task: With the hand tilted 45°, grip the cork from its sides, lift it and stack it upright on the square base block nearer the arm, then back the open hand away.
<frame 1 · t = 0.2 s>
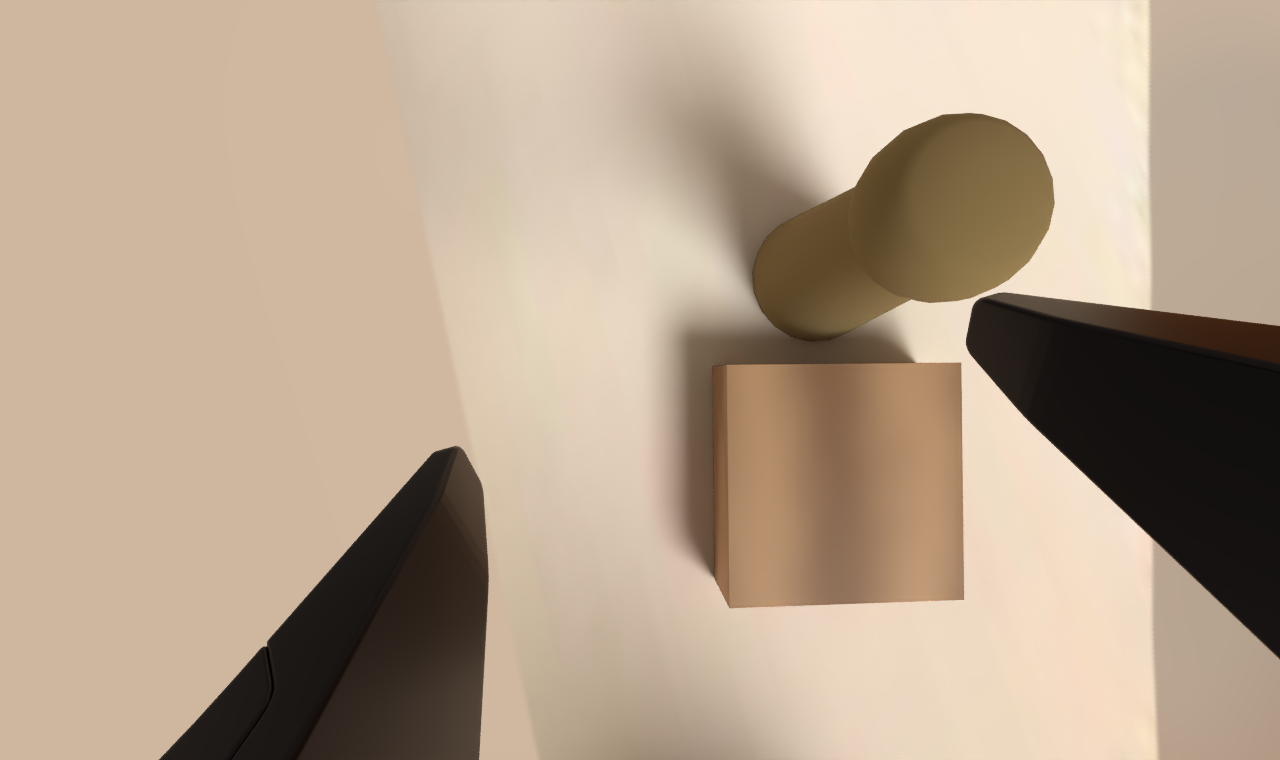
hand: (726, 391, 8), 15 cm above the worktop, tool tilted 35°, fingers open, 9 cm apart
cork: (813, 278, 24), on the worktop
base block: (817, 470, 24), on the worktop
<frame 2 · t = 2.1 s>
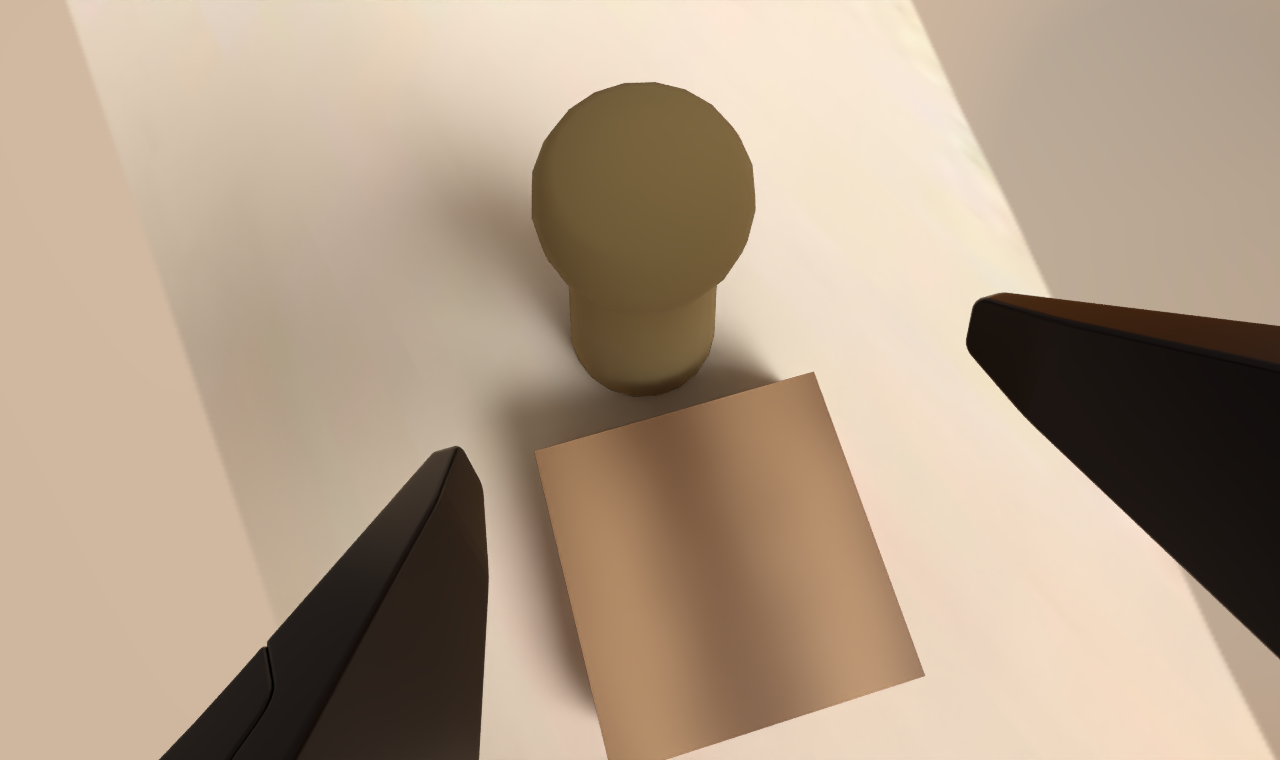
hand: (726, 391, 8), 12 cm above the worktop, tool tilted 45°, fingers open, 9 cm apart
cork: (642, 327, 21), on the worktop
base block: (708, 546, 19), on the worktop
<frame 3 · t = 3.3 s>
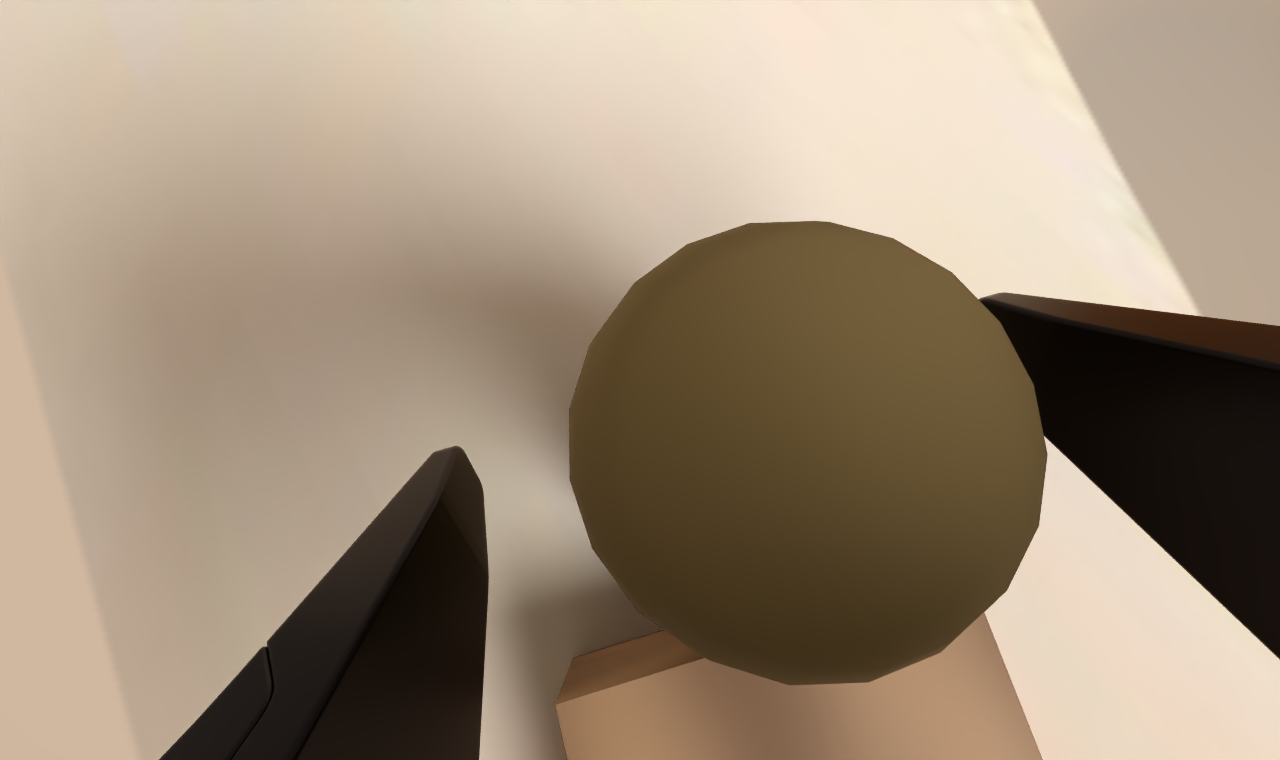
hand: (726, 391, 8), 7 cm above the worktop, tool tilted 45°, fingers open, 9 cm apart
cork: (697, 464, 15), on the worktop
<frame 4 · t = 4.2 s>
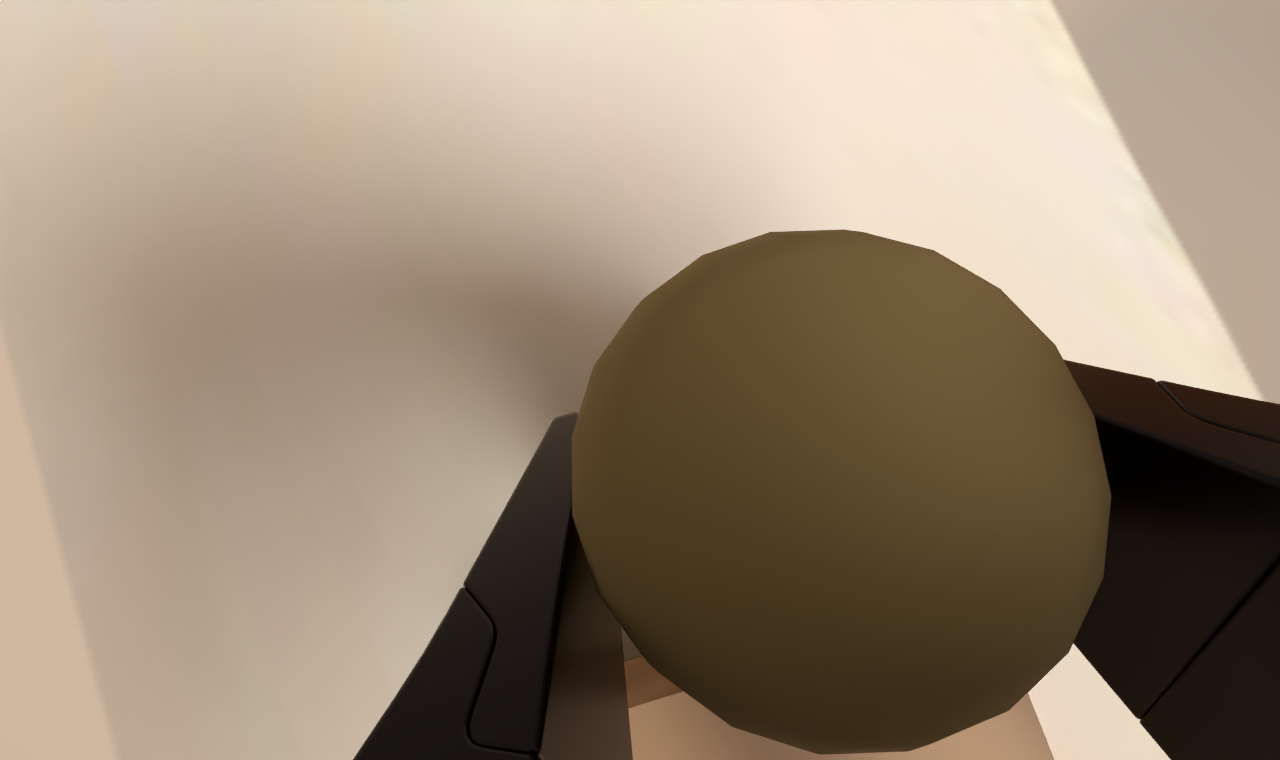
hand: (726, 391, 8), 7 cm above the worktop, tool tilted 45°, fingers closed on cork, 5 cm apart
cork: (702, 475, 15), on the worktop, touching gripper
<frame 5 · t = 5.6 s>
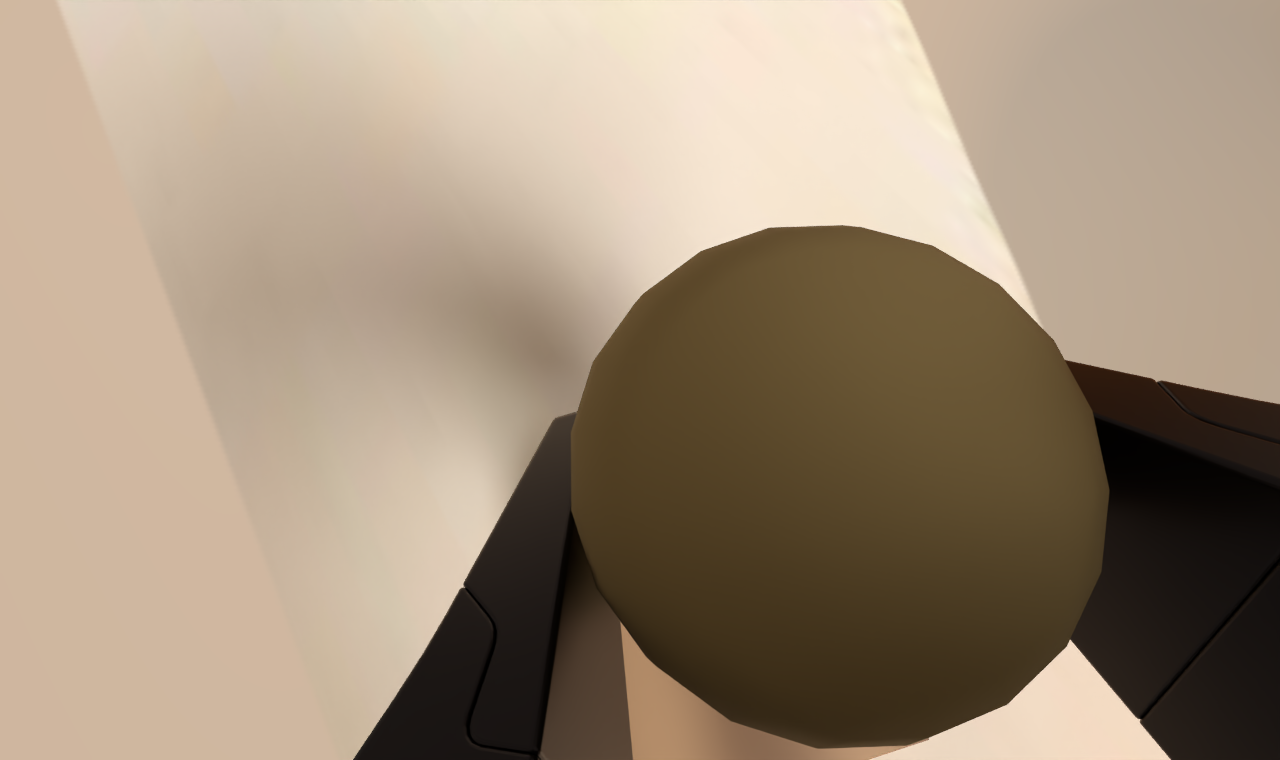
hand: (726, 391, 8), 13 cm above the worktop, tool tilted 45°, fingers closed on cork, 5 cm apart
cork: (701, 473, 15), point 6 cm above the worktop, touching gripper
base block: (722, 603, 20), on the worktop
when the fingers open (11 cm above the worktop, at t = 6.9 s): cork drops 1 cm, resting on base block.
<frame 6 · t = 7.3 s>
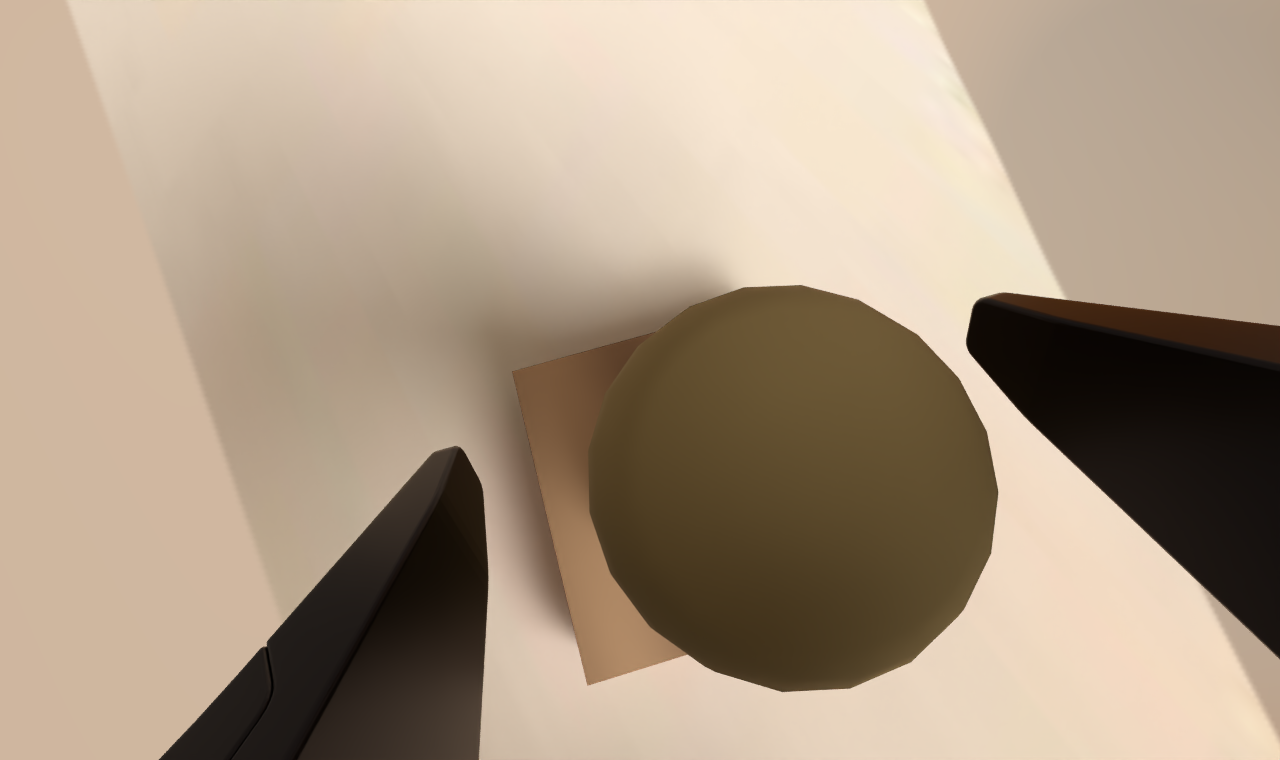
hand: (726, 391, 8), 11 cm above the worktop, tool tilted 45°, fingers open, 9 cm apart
cork: (696, 481, 16), point 3 cm above the worktop, touching base block
base block: (688, 475, 19), on the worktop
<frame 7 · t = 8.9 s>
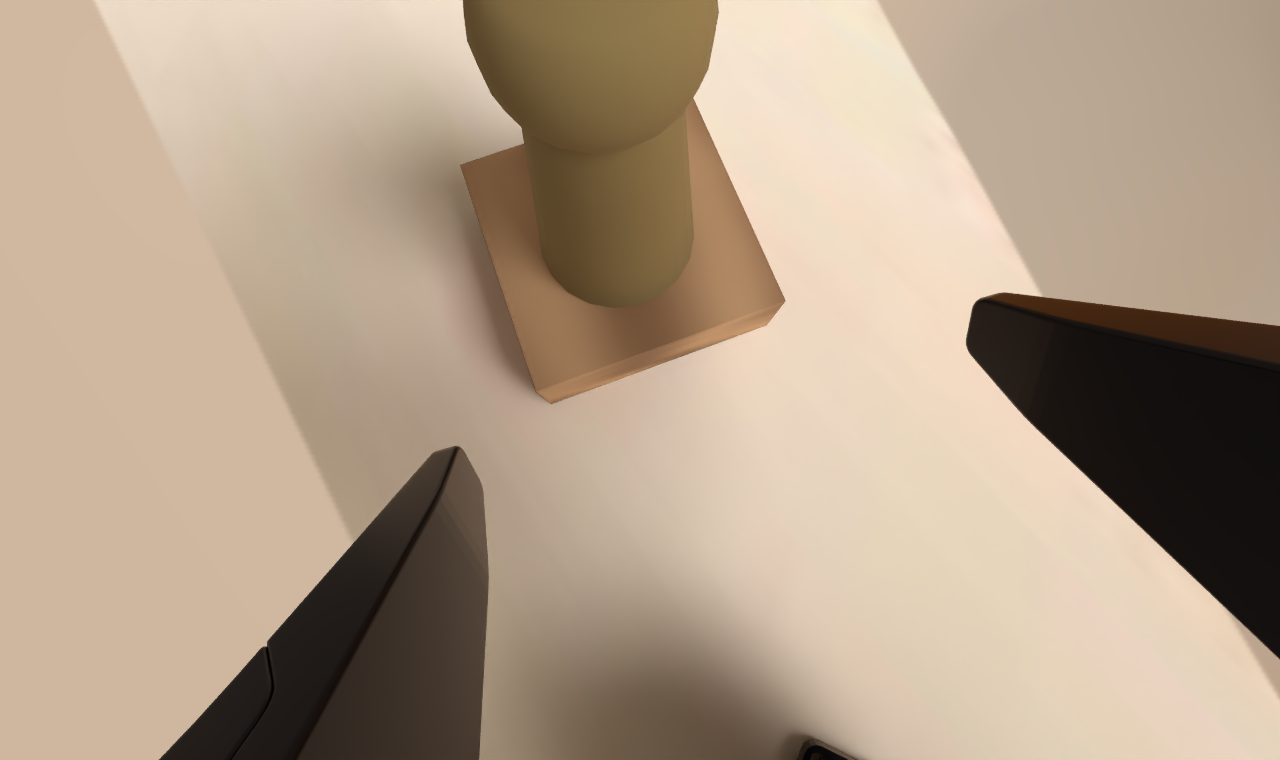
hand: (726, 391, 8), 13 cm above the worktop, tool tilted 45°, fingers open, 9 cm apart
cork: (617, 237, 20), point 3 cm above the worktop, touching base block
base block: (621, 263, 22), on the worktop
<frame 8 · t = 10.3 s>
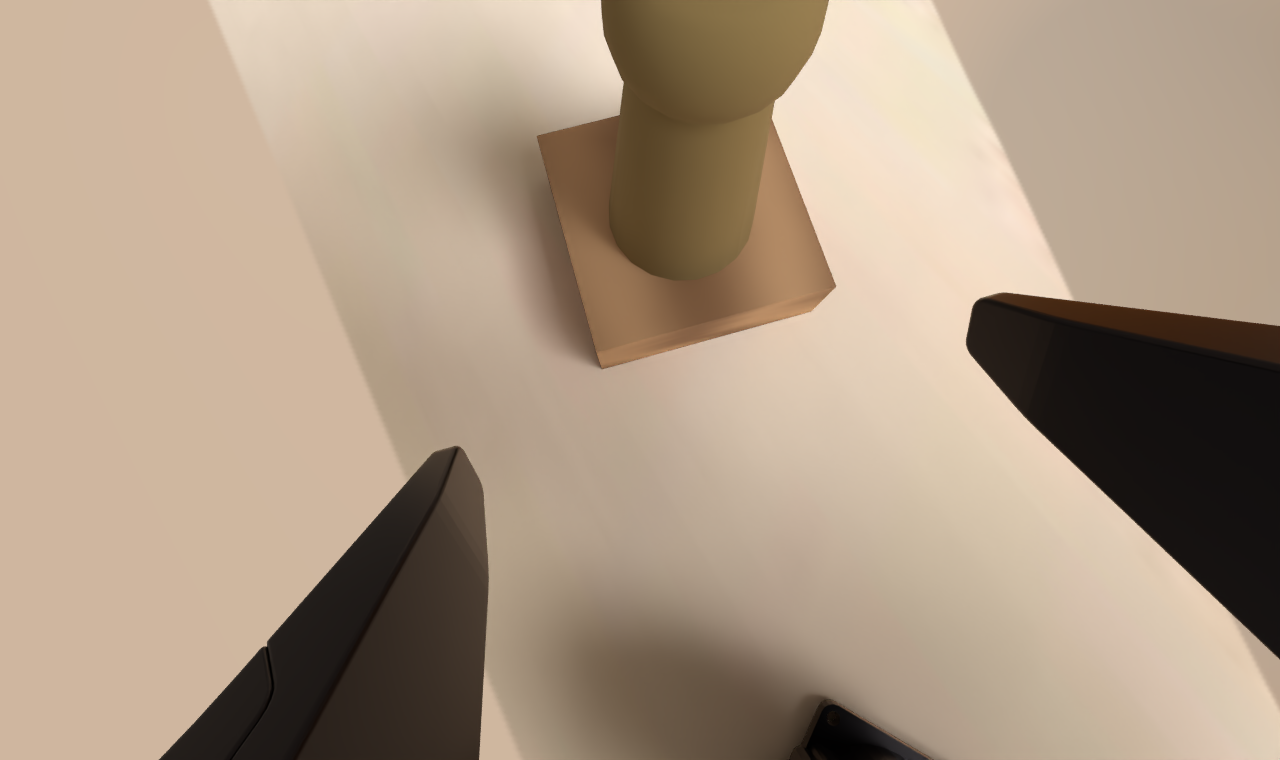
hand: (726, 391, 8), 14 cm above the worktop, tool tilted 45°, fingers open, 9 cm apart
cork: (680, 215, 21), point 3 cm above the worktop, touching base block
base block: (676, 242, 24), on the worktop
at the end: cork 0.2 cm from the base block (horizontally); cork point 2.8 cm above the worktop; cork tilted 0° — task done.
